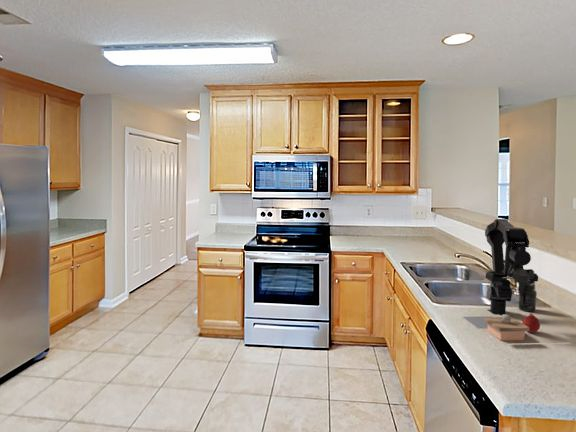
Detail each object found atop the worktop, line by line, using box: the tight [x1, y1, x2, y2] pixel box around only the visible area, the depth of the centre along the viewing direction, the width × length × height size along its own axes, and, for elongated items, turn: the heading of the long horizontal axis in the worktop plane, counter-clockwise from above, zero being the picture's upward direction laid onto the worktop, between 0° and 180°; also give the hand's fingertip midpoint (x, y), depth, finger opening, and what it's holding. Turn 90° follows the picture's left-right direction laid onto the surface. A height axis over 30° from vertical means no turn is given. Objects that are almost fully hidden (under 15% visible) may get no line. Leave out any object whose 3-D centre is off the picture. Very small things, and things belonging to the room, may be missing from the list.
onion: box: [521, 312, 541, 334], centre depth 161 cm, size 6×6×8 cm
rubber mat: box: [462, 315, 493, 329], centre depth 172 cm, size 13×13×1 cm
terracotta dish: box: [486, 324, 526, 342], centre depth 158 cm, size 9×9×4 cm
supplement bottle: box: [518, 283, 538, 313], centre depth 189 cm, size 7×7×12 cm
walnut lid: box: [484, 314, 529, 332], centre depth 157 cm, size 11×11×4 cm
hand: (509, 297), depth 169 cm, fingers open, 9 cm apart
